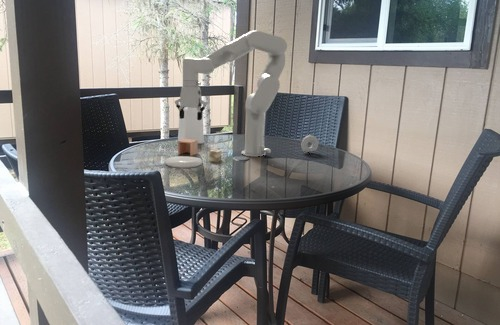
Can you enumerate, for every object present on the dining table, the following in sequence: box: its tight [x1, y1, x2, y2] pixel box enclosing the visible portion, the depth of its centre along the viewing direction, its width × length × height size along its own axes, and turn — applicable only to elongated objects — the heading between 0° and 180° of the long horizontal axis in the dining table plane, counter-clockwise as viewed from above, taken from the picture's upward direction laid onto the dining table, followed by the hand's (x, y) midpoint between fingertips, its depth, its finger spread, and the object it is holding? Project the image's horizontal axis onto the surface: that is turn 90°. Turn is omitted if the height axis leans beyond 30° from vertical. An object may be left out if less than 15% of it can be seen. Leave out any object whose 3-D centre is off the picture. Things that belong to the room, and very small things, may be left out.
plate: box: [164, 155, 203, 169], centre depth 194 cm, size 17×17×1 cm
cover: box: [177, 139, 198, 157], centre depth 212 cm, size 7×7×7 cm
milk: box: [177, 107, 205, 145], centre depth 240 cm, size 12×12×26 cm
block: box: [208, 149, 222, 163], centre depth 201 cm, size 4×4×5 cm
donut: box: [300, 134, 319, 152], centre depth 225 cm, size 10×4×10 cm, turn 112°
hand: (190, 119), depth 207 cm, fingers open, 9 cm apart
